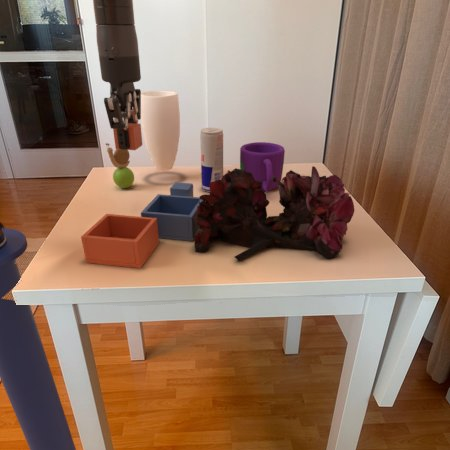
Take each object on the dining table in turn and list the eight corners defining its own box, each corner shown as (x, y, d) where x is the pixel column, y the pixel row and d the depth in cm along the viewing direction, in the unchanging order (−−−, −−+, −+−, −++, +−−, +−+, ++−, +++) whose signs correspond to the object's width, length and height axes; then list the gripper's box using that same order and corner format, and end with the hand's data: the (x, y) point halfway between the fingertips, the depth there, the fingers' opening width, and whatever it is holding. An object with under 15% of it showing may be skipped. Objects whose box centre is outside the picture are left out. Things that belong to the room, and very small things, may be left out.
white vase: (185, 183, 114) (180, 96, 102) (146, 185, 112) (136, 97, 100) (182, 171, 122) (177, 89, 110) (146, 173, 121) (137, 90, 109)
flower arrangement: (193, 262, 78) (190, 183, 69) (197, 219, 94) (194, 150, 86) (360, 261, 78) (377, 182, 70) (335, 218, 95) (346, 150, 86)
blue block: (171, 206, 100) (169, 188, 98) (176, 199, 104) (175, 182, 102) (188, 207, 100) (188, 189, 97) (193, 200, 103) (192, 183, 101)
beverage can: (220, 185, 113) (220, 126, 104) (225, 192, 108) (225, 131, 100) (200, 186, 112) (198, 127, 103) (203, 194, 107) (202, 132, 99)
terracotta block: (115, 149, 88) (112, 126, 86) (123, 144, 92) (120, 122, 89) (135, 150, 87) (133, 128, 85) (142, 145, 91) (140, 123, 89)
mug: (236, 179, 117) (237, 142, 111) (276, 178, 118) (279, 141, 112) (246, 202, 102) (247, 161, 97) (291, 200, 104) (295, 159, 98)
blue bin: (143, 236, 87) (140, 212, 84) (159, 216, 95) (157, 194, 92) (193, 241, 85) (191, 216, 82) (205, 220, 94) (204, 197, 91)
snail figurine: (107, 188, 110) (99, 141, 103) (126, 182, 114) (120, 136, 107) (120, 193, 107) (113, 145, 101) (139, 187, 111) (134, 140, 105)
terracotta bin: (86, 262, 78) (80, 236, 75) (110, 237, 86) (106, 213, 83) (140, 268, 76) (137, 242, 73) (159, 242, 85) (157, 218, 82)
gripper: (114, 50, 86) (124, 137, 96) (83, 55, 74) (98, 153, 84) (149, 51, 85) (156, 139, 95) (123, 56, 73) (133, 156, 83)
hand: (128, 145), depth 89 cm, fingers closed on terracotta block, 4 cm apart
